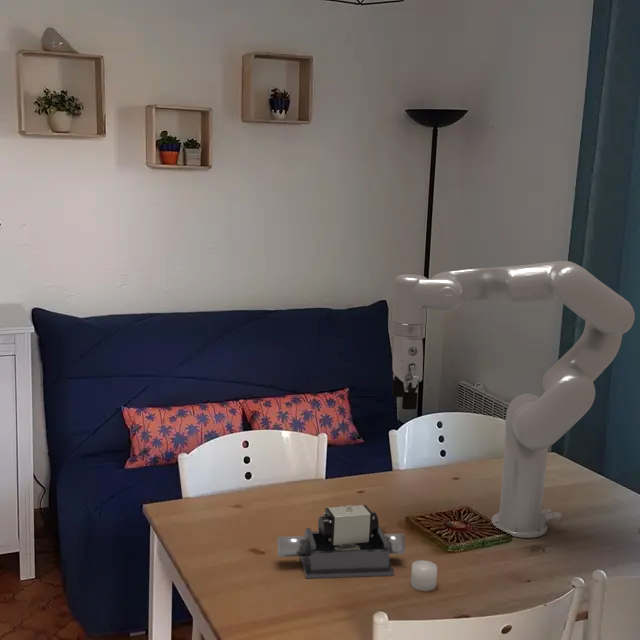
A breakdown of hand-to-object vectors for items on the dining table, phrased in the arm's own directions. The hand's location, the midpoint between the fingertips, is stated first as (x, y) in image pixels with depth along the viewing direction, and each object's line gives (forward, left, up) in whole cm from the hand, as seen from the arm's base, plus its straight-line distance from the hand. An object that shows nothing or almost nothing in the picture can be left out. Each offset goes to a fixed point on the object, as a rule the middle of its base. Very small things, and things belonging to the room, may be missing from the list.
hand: (403, 402), depth 192 cm
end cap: (+2, +31, -28) cm, 42 cm away
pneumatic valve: (+16, +21, -28) cm, 38 cm away
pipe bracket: (+16, +21, -28) cm, 39 cm away
